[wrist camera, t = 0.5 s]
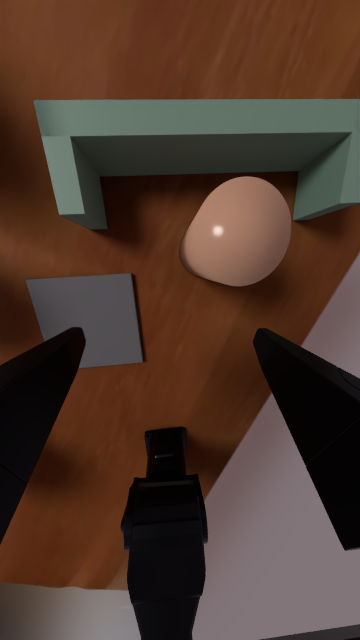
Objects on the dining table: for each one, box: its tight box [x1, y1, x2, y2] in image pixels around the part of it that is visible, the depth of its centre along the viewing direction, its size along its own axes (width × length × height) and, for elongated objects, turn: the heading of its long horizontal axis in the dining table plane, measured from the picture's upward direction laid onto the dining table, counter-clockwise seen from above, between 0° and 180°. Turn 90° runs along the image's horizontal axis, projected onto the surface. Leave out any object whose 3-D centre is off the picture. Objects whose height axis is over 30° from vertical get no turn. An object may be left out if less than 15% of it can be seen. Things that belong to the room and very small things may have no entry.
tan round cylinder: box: [179, 176, 291, 286], centre depth 16 cm, size 6×6×12 cm
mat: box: [26, 273, 143, 368], centre depth 23 cm, size 12×12×1 cm
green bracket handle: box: [33, 99, 360, 230], centre depth 17 cm, size 7×26×6 cm, turn 93°
